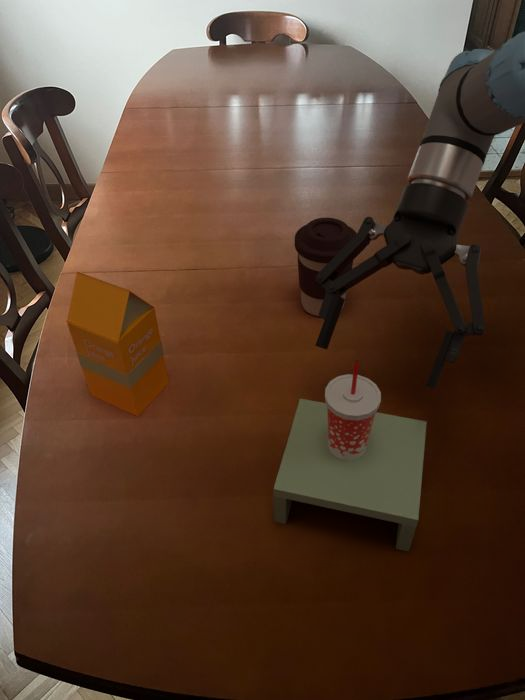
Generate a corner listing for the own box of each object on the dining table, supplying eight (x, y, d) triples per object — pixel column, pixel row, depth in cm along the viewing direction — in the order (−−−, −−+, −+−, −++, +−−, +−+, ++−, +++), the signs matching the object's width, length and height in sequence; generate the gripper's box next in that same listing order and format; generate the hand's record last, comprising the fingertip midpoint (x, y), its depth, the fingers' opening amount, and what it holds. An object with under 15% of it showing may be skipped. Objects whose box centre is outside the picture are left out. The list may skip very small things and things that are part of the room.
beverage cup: (377, 464, 68) (393, 380, 59) (325, 467, 68) (331, 385, 58) (367, 423, 73) (379, 339, 63) (317, 426, 73) (323, 343, 63)
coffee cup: (342, 283, 105) (349, 208, 94) (359, 319, 98) (368, 242, 87) (288, 290, 104) (288, 215, 93) (300, 327, 97) (302, 250, 86)
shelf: (408, 552, 68) (418, 520, 63) (273, 521, 71) (273, 488, 66) (417, 455, 78) (426, 421, 73) (298, 432, 81) (299, 398, 76)
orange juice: (137, 417, 83) (109, 308, 70) (89, 395, 87) (53, 287, 73) (170, 382, 88) (149, 273, 75) (123, 362, 92) (95, 255, 78)
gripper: (548, 229, 67) (482, 405, 68) (345, 180, 76) (289, 335, 77) (554, 208, 60) (480, 405, 61) (329, 158, 69) (269, 329, 70)
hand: (373, 367), depth 69 cm, fingers open, 13 cm apart
